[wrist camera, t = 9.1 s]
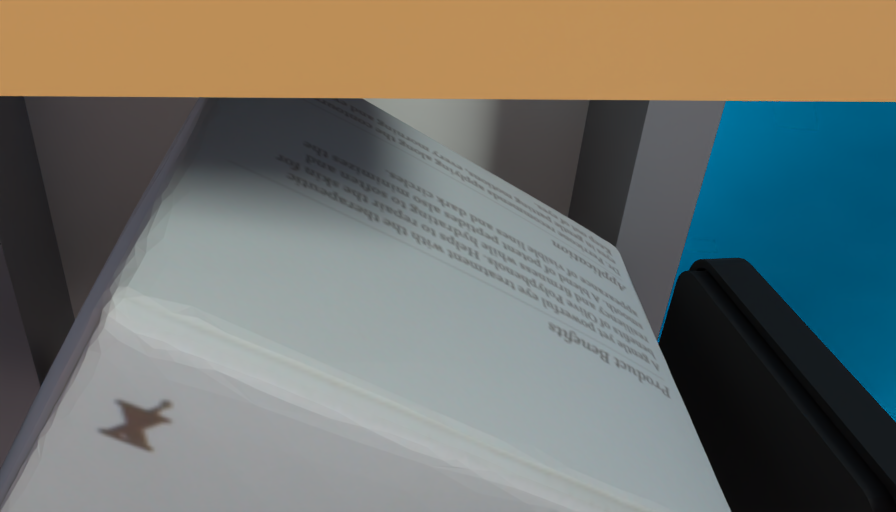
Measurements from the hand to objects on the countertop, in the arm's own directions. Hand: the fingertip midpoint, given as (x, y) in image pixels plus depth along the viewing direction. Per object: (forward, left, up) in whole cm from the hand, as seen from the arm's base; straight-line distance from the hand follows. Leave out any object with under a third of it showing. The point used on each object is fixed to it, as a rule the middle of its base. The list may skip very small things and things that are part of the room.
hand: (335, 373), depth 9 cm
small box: (0, 0, -2) cm, 2 cm away
